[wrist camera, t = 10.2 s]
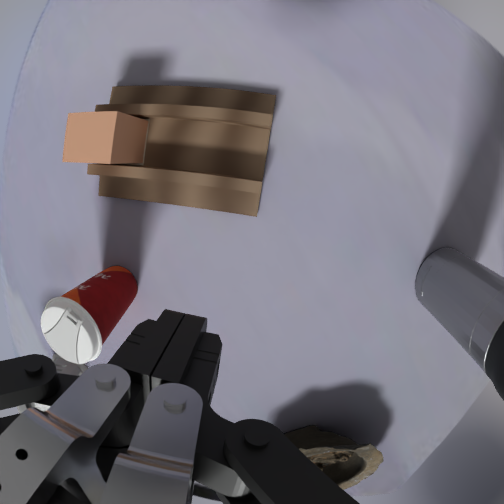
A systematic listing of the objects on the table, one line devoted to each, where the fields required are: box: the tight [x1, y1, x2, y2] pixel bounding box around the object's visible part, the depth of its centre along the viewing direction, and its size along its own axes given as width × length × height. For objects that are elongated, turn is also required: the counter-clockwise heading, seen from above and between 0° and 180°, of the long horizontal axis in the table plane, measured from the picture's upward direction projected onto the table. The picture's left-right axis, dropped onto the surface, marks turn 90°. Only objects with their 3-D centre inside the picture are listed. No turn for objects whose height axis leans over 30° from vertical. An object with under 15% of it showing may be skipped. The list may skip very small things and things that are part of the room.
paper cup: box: [41, 266, 137, 364], centre depth 31 cm, size 8×8×14 cm
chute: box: [87, 86, 276, 217], centre depth 30 cm, size 20×14×4 cm
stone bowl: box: [284, 425, 383, 490], centre depth 43 cm, size 25×25×9 cm
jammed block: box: [63, 111, 148, 164], centre depth 27 cm, size 6×5×8 cm
